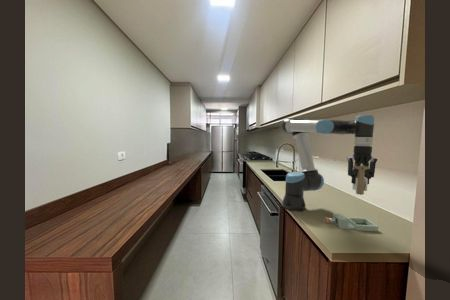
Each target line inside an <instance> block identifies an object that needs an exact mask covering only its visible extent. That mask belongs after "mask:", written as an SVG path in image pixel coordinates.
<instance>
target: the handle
mask: <svg viewBox="0 0 450 300" xmlns="http://www.w3.org/2000/svg"><path fill="white" fill-rule="evenodd" d="M369 167H370V165H369V166H363V165H362V164H361V165H360V166H355V164H353V168H354V169H358V173H357V177H356V178H358V185H357V191H355V193H356V195H364V194H365V191H364V189H365V170H367V169H368V168H369Z"/></svg>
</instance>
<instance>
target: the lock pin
mask: <svg viewBox="0 0 450 300" xmlns="http://www.w3.org/2000/svg"><path fill="white" fill-rule="evenodd" d="M324 222H325V224H330V223H334V222H336V223H338V219H333V217H332V218H329V216H325V217H324Z"/></svg>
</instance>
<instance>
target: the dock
mask: <svg viewBox="0 0 450 300" xmlns="http://www.w3.org/2000/svg"><path fill="white" fill-rule="evenodd" d="M332 218H333V219H338V223H336V222H333V224H334V225H336V226H337V227H338V228H339V229H342V230H343V229H345V230H356V231H365V232H367V231H368V232H369V231H370V232H379V226H378V225H376V224H375V223H374V222H373V221H370V220H369V219H367V218H366V217H365V218H364V217H348V216H346V217H345V216H344V215H342V214H341V213H332Z"/></svg>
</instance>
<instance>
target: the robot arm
mask: <svg viewBox="0 0 450 300" xmlns="http://www.w3.org/2000/svg"><path fill="white" fill-rule="evenodd" d="M374 129H375V116H374V115H372V114H362V115H357V116H355V119H354V120H351V119H350V120H341V119H340V120H339V119H326V118H325V119H323V118H322V119H306V118H297V117H296V118H294V117H288V118H284V119H283V120H282V121H281V123H280V130H281V131H282V132H283V133H285V134H287V135H288V134H289V135H290V134H292V135H291V136H292V138H293V139H295V142H296V144H295V145H296V147H297V152H298V153H297V154H298V157H299V163H300V166H301V170H300V171H291V172H288V173H287V174H286V176H285V190H284V191H285V192H284V196H283V199H282V201H281V206H282V207H283V208H284V209H287V210H290V211H293V212H294V211H295V212H301V211H302V212H303V211H305V210H306V207H307V206H306V202H305V199H304V192H310V191H311V192H312V191H313V192H314V191H318V190H320V189H322V188H323V186H324V183H325V179H324V177H323V175H322V174H320V173H319V170H318V169H317V168H316V167H315V163H314V159H313V155H312V150H311V146H310V145H311V144H310V141H309V135H310V133H316V134H324V135H327V134H328V135H329V134H331V135H333V134H334V135H354V142H353V143H354V145H353V154H352V156H349V157H347V158H346V159H347V176H349V177H351V181H350V182H351V184H352V190H354V191H355V192H356V191H357V185H358V178H356V177H357V173H358V169H354V168H353V165H355V166H360V165H363V166H369V168H368V169H367V170H365V189H364V192H368V185H369V184H370V180H371V179H372V178H375V172H376V164H377V161H378V158H375V157H373V156H372V153H373V140H374V139H373V138H374Z"/></svg>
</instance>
